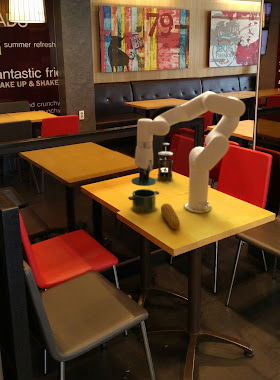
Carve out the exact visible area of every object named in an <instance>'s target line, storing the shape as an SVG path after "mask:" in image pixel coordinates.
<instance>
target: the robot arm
mask: <svg viewBox="0 0 280 380" xmlns="http://www.w3.org/2000/svg"><path fill="white" fill-rule="evenodd" d="M208 111H209V112H211V113H215V114H218V115H221V116H222V117H221V118H220V120H219V121H218V123H217V124H216V125H215V126H214V127H213V129H212V130H210V132H209V133H208V134H207V135H206V137H205V139H204V143H205V146H203V147H202V146H196V147H194V148H192V149H191V151H190V152H189V157H188V163H189V165H188V167H189V173H188V174H189V178H188V197H187V198H188V199H187V200H188V201H187V202H186V203H185V205H184V208H185V209H186V210H187V211H189V212H191V213H196V214H204V213H207V212H209V211H210V210H211V209H212V208H213V207H212V206H211V205H210V202H209V200H208V198H209V181H210V180H209V179H210V171H211V170H212V169H213V168H214V167H215V166H216V165H217V164H218V163H219V162H220V161H221V159H223V158H224V156H225V155H226V154H227V152H228V151H229V149H230V140H229V139H230V137H231V136H232V135H233V133H234V132H235V131H236V130H237V128H238V127H239V123H240V117H242V116H243V115H244V113H245V112H246V104H245V103H244V101H242V100H241V99H239V98H237V97H234V96H225V95H222V94H218V93H216V92H213V91H205V92H203V93H201V94H199V95H198V96H196V97H194V98H192V99H189V100H187V101H186V102H184V103H182V104H181V105H178V106H176V107H173V108H171V109H169V110H167V111H165V112H163V113H161V114H159V115H157V116H156V117H155V118H154V119H153V120H152V119H151V118H140V119H137V125H136V126H137V128H136V129H137V130H136V131H137V132H136V147H135V153H134V164H135V166H136V167H137V168H138V172H139V173H138V177H139V180H141V172H142V169H144V174H143V182H147V181H149V177H150V174H151V172H153V170H154V169H153V167H154V151H153V150H154V149H153V147H154V146H153V144H154V143H153V141H154V140H153V139H154V138H153V137H154V136H166V135H167V134H169V132H170V130H171V126H173V125H175V124H178V123H180V122H188V121H193V120H194V119H196V118H198V117H199V116H202V115H203V114H205V113H207V112H208Z"/></svg>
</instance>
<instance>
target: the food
mask: <svg viewBox="0 0 280 380" xmlns="http://www.w3.org/2000/svg"><path fill="white" fill-rule="evenodd" d="M160 212H161V214H162V215H163V217H164V219H165V221H167V223H168V225H169V226H170V227H171V228H172V229H174V230H178V229H180V225H181V222H180V218H179V216H178V214H177V213H176V211H175V209H174V208H173V206H172V204H169V203H162V205H161V206H160Z"/></svg>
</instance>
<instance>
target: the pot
mask: <svg viewBox="0 0 280 380" xmlns="http://www.w3.org/2000/svg"><path fill="white" fill-rule="evenodd" d="M131 194H132V195H131V196H128V200H129V201H131V202H132V203H131V206H132V207H131V209H132V210H133V211H134V212H137V213H141V214H148V213H152V212H154V211H155V210H156V206H157V205H156V204H157V203H156V202H157V201H156V198H157V195H159V194H160V191H159V190H152V189H147V188H141V189H135V190H133V192H132V193H131Z"/></svg>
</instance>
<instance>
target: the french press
mask: <svg viewBox="0 0 280 380" xmlns="http://www.w3.org/2000/svg"><path fill="white" fill-rule="evenodd" d="M162 145H163V146H164V149H165V150H164V151H159V152H158V153H157V154H158V157H159V159H158V160H157V164H158V169H157V178H156V181H158V182H169V183H170V182H173V164H174V160H172V159H169V158H167V157H172V158H173V154H174V153H173V152H172V151H167V147H168V146H169V145H170V143H168V142H163V143H162ZM163 166H164V167H163ZM166 166H167V167H166Z"/></svg>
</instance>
